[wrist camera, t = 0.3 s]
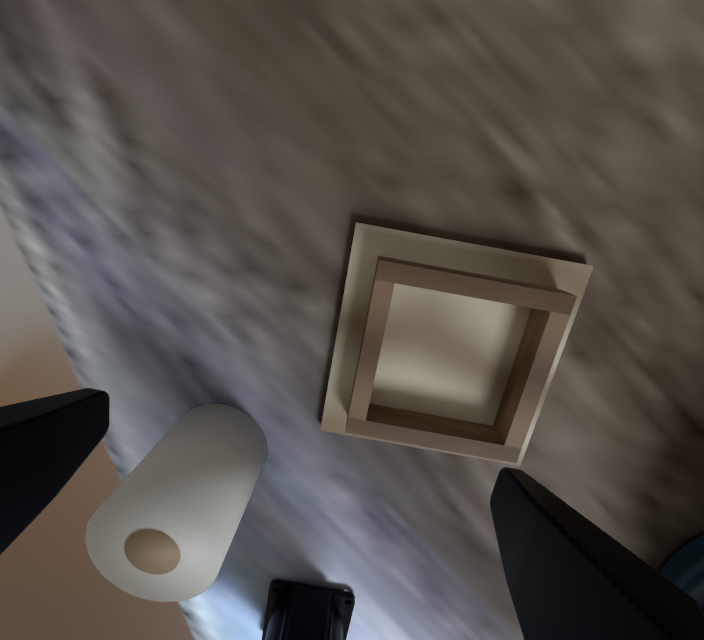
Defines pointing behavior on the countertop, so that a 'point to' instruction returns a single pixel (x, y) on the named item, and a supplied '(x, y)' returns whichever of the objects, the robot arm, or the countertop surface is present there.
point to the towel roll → (179, 506)
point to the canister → (688, 569)
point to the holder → (448, 343)
